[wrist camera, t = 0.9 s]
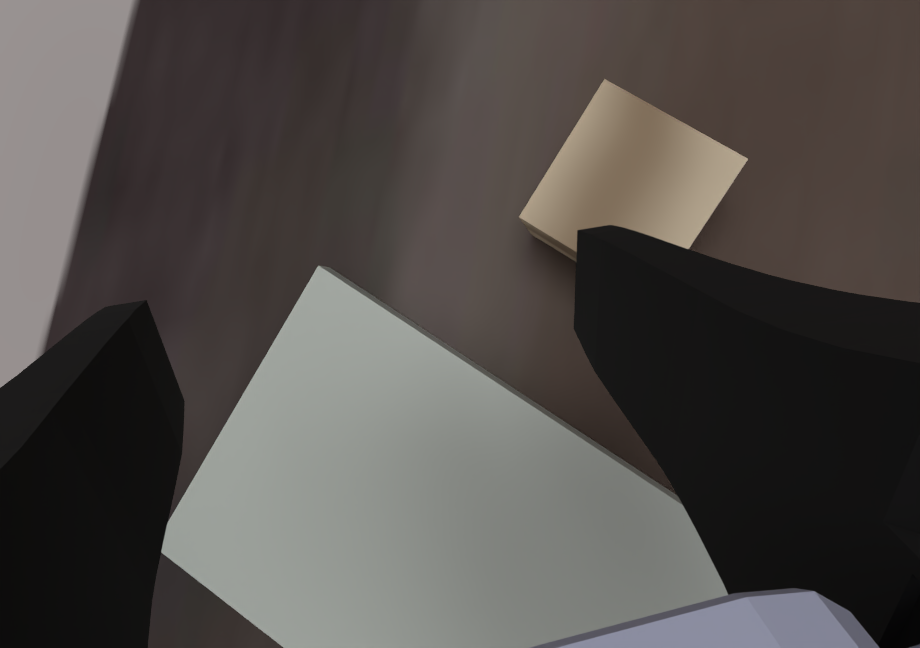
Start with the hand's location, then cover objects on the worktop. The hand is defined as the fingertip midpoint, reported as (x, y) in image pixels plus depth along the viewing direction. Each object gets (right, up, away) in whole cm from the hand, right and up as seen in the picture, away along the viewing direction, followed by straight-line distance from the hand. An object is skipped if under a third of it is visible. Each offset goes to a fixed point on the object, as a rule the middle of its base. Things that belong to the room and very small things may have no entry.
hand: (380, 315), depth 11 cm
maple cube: (+8, +4, +14) cm, 17 cm away
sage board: (+1, -9, +16) cm, 18 cm away
